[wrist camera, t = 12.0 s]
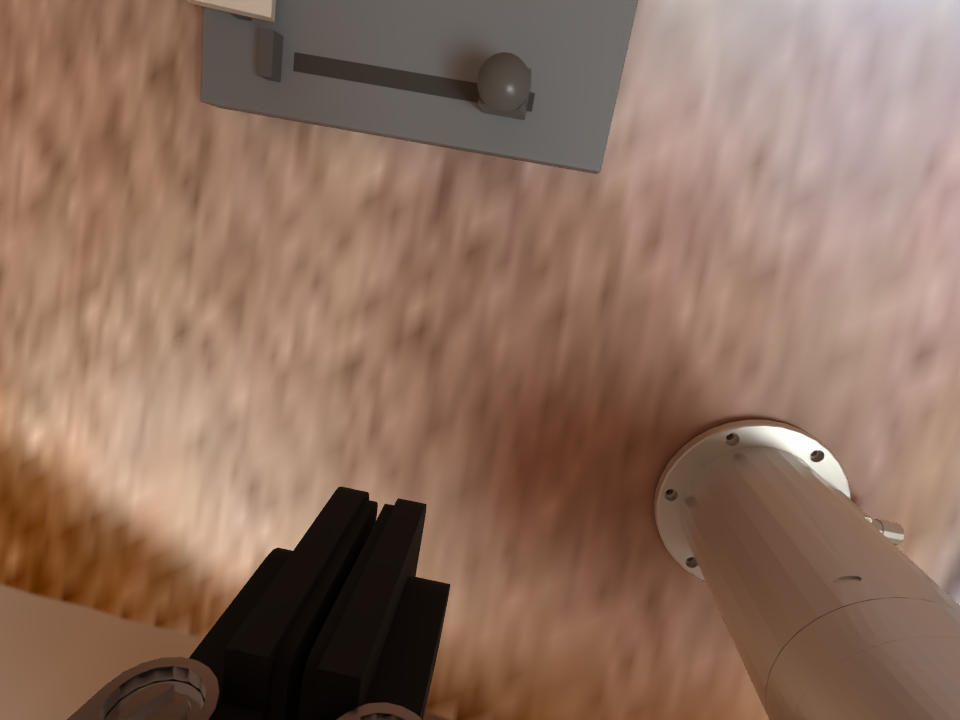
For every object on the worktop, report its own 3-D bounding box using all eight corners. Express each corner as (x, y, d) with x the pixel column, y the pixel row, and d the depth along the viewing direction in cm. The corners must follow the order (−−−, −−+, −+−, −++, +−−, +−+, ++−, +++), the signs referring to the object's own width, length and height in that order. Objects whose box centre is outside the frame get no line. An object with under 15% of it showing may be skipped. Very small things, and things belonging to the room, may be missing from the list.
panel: (651, -75, 30) (664, -107, 27) (596, 173, 33) (602, 170, 30) (228, -140, 31) (194, -179, 28) (219, 107, 35) (188, 97, 31)
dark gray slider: (534, 76, 30) (534, 56, 27) (525, 126, 31) (524, 114, 27) (488, 68, 31) (482, 48, 27) (480, 118, 31) (473, 105, 27)
